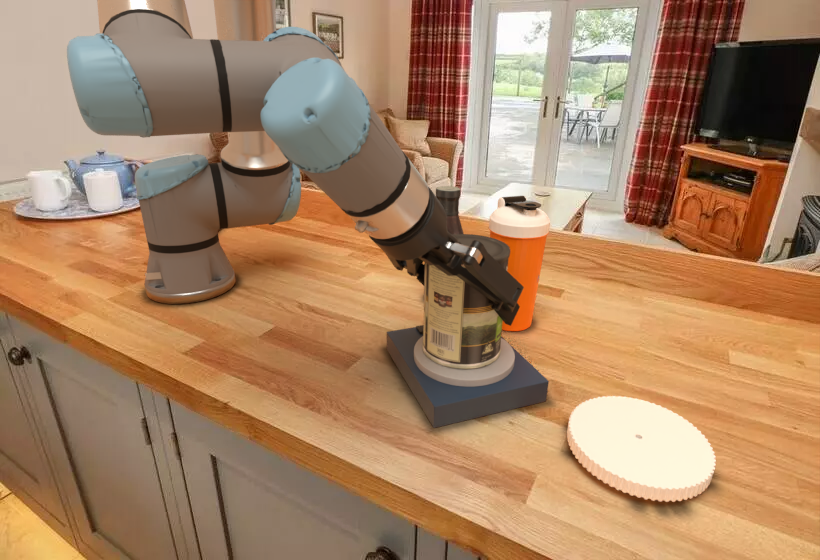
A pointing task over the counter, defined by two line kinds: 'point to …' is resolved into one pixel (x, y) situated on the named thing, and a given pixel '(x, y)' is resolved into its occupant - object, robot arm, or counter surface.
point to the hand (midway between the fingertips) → (476, 302)
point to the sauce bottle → (450, 207)
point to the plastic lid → (641, 448)
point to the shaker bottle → (521, 249)
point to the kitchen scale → (465, 381)
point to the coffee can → (461, 314)
